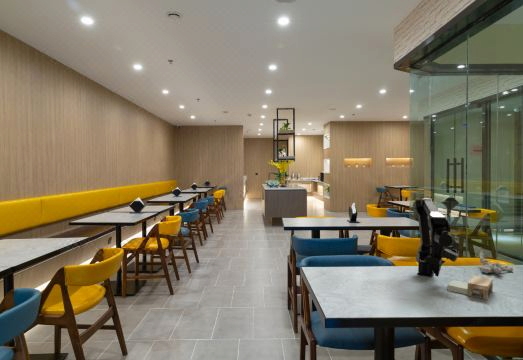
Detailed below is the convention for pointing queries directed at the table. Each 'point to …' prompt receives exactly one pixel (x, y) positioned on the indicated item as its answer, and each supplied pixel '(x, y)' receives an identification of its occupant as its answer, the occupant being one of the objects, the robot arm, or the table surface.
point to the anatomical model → (492, 265)
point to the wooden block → (480, 286)
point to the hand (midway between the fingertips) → (436, 275)
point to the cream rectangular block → (462, 287)
